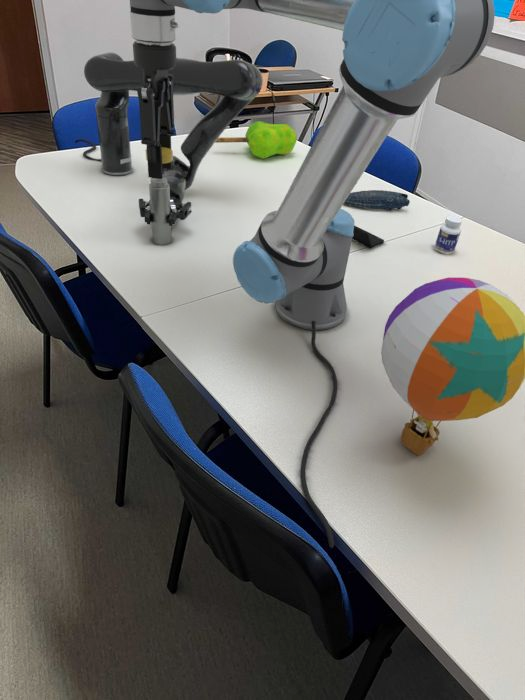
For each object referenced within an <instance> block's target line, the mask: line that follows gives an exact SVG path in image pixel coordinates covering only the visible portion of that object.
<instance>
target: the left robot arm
mask: <svg viewBox="0 0 525 700" xmlns="http://www.w3.org/2000/svg"><path fill="white" fill-rule="evenodd" d="M167 71H168V74H172V75H173V77H174V79H173V96H189V95H196V94H213V95H218V96H222V97H221V99H220V100H219V101H218V102H217V103H216V104H215V106H214V107H213V108H211V110H209V112H207V113H206V114H205V115H204V116H203V117H202V118H200V120H199V121H198V122H197V123H196V124H195V125H194V126H193V127H192V129H191V130H190V132H189V133H188V135H187V136H186V138H185V139H184V140H183V142H182V143H181V145H180V151H181V153H182V154H183V156H184V157H185V158H186V160H187V161H188V163H189V165H188V164H187V163H185V162H184V161H183V160H181V159H180V158H179V157H177V156H176V155H173V161H172V168H171V169H166V168H162V171H163V177H165V178H167V183H168V184H169V186H170V211H171V214H170V216H169V226H171V227H173V226H174V225H175V224H176V223H177V221H178V220H181V221H184V220H186V219H187V217H189V216H190V214H191V213H192V202H190V201H187V202H186V203H183V200H184V197H185V191H186V190H188V189H190V188H191V187H192V186H193V184H194V182H195V178H196V175H197V172H198V169H199V167H200V165H201V164H202V162H203V160H204V158H205V157H206V155H208V153H209V152H210V149H211V148H212V147H213V146H214V144H216V143H215V142H216V140H217V139H218V138H220V136H221V135H222V134H223V133H224V131H225V130H226V129H227V128H228V126H229V125H230V124H231V123H232V122H233V121H234V120H235V119H236V117H237V116H238V115H239V114H240V113H241V112H242V111H243V110H244V109H245V108H246V107H247V106H248V105H249V104H250V103H252V102H253V100H254V99H255V98H256V97H257V96H258V95H259V94H260V92H261V90H262V88H263V83H264V79H263V75H262V73H261V71H260V69H259V68H258V67H257V66H256V65H254V64H252V63H250V62H248V61H246V60H243V59H229V60H217V61H199V60H196V59H190V58H183V57H182V58H181V57H176V67H175V68H173V69H171V70H167ZM83 75H84V78H85V80H86V82H87V83H88V84H89V85H90V86H91V87H92V88H93V89H94V90H96V91H99V92H100V96H99V97H98V99H97V101H96V102H95V106H94V108H95V117H96V126H97V134H98V142H99V151H100V158H94V157H91V156H89V155H87V154H89V153H90V152H92V151H95V150H96V148H97V145H96V144H95V143H94V142H92V141H90V140H88V139H85V138H77V139H75V141H74V143H75V144H77V143H79V142H84V143H87V144H89V145H91V146H92V147H91V148H89V149H86V150H84V152H82V155H83V157H85V158H86V159H87V160H90V161H95V162H101V169H102V171H101V172H103V173H104V174H105V175H109V176H125V175H129V174H131V173H132V172H133V166H132V153H131V152H132V151H131V141H130V140H131V139H130V128H129V115H128V108H129V104H130V91H131V92H132V91H133V92H137V88H138V87H142V81H143V76H144V70H143V69H142V68H139V67H137V66H136V65H135V64H134V59H133V60H124V59H123V58H122V57H121V56H120V55H119V54H117V53H115V52H105V53H101V54H97V55H94V56H92V57H90V58H88V60H87V61H86V63H85V64H84V68H83ZM138 209H139V215H140V218H144V223H146V225H149V226H150V225H151V224H152V223H151V207H150V199H149V200H148V201H147V200H144V198H138Z"/></svg>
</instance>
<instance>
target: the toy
mask: <svg viewBox="0 0 525 700" xmlns="http://www.w3.org/2000/svg"><path fill="white" fill-rule="evenodd" d="M381 343H382V344H381V351H380V355H381V363H382V366H383V369H384V371H385V374H386V375H387V378H388V380H389V382H390V384H391V386H392V388H393V389H394V391H395V392H396V393H397V395H399V397H400V398H401V399H402V400H403V401H404V402H405V403H406V404H407V405H408V406H409V407H410V408H411V409H412V414H411V418H410V421H409V422H405V423H404V427H403V428H402V432H401V437H400V443H401V444H402V445H403V446H404V447H406V449H408V450H410V451H411V452H412V453H413V454H415V455H416V456H422V455H423V454H424V453H425V452H427V451H428V450H429V449H430V448H431V447H433V446H434V444H435V443H436V441H439V435H440V430H439V428H438V426H440V424H441V422H451V421H453V422H454V421H463V420H470V419H477V418H480V417H482V416H484V415H486V414H488V413H490V412H493V411H495V410H497V409H499V408H501V407H504V406H505V405H506V404H507V403H508V402H509V401H511V400H512V399H513V398H514V397H515V395H516V393H517V392H518V391H519V389H520V388H521V386H522V384H523V383H524V381H525V313H524V312H523V311H522V309H521V308H520V307H519V306H518V305H517V304H516V302H514V300H513V299H512V298H511V297H510V296H509V295H508V293H506V292H504V291H502V290H501V289H499V288H498V287H496V286H494V285H493V284H490V283H488V282H485V281H483V280H479V279H475V278H469V277H445V278H440V279H437V280H433V281H430V282H426V283H424V284H422V285H420V286H418V287H416V288H414V289H413V290H412V291H411V292H410V293H409V294H407V296H405V298H403V299H402V300H401V301H400V302H398V304H397V305H396V306H394V308H393V310H392V311H391V312H390V314H389V316H388V318H387V320H386V322H385V325H384V331H383V338H382V342H381ZM414 412H416V414H417V416H416V417H414V414H415V413H414ZM433 422H438V423H437V425H436V426H435V424H434V423H433Z"/></svg>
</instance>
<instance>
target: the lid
mask: <svg viewBox="0 0 525 700" xmlns="http://www.w3.org/2000/svg"><path fill="white" fill-rule="evenodd" d="M161 148H162V164H165V163H169V162H171V161H173V156H174V151H173V150H172V148H171V149H169V148H166V147H161ZM145 160H146V161H147V148H146V149H145Z"/></svg>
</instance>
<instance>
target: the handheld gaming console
mask: <svg viewBox="0 0 525 700" xmlns="http://www.w3.org/2000/svg"><path fill="white" fill-rule="evenodd" d="M353 234H354V236H353V238H352V241H355V242H356V243H358V244H360V245H361V246H364V247H366V248H368V249H369V250H371V249H373V248H375V247H378V246H381V245H383V244H385V243H384V242H385V239H383V238H381V237H379V236H377V235H375V234H373V233H372V232H369V231H367V230H365V229H362V228H361V227H358V226H357V225H355V224H354V230H353Z"/></svg>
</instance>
